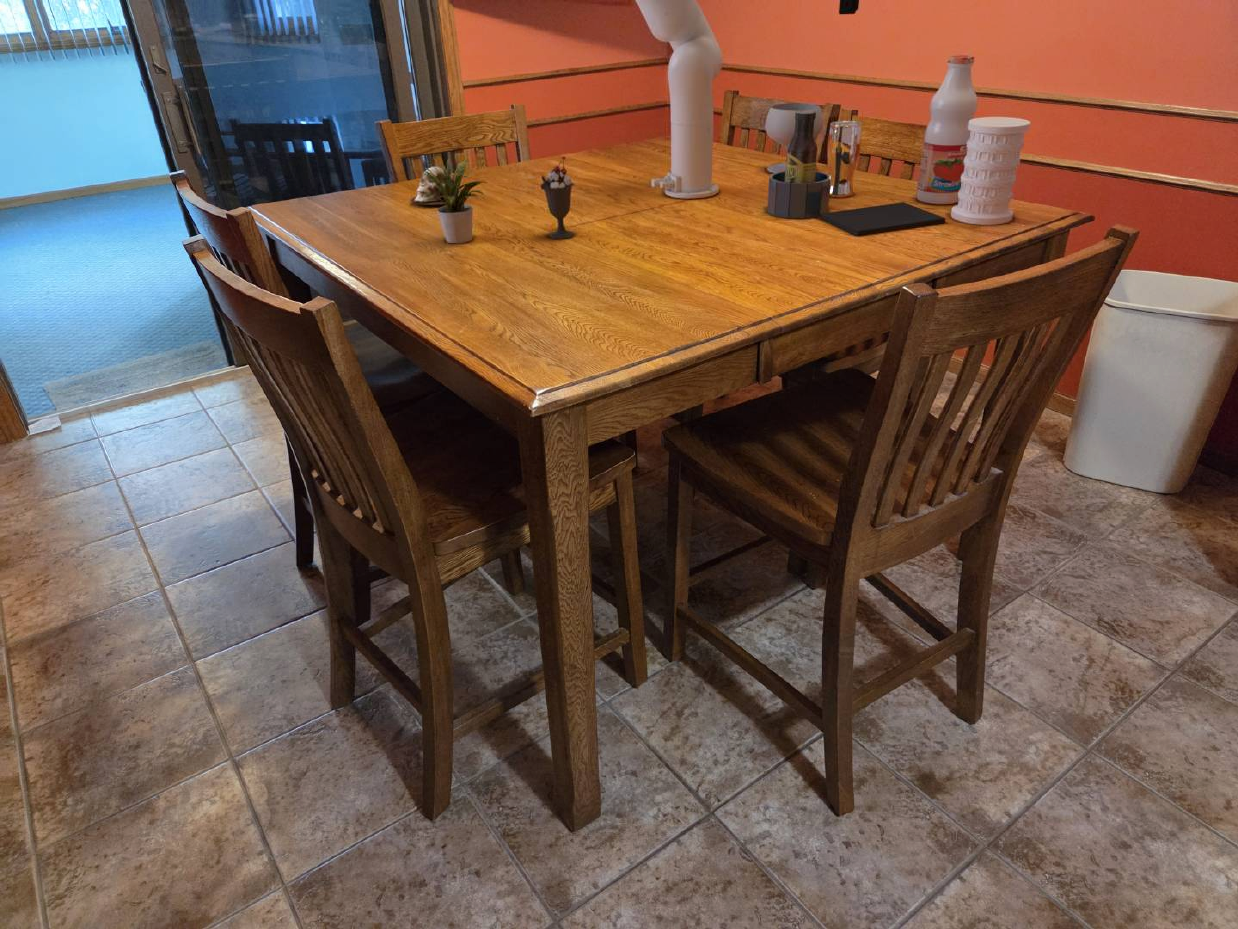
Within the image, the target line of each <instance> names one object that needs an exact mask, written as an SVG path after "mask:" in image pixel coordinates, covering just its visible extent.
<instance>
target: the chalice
mask: <svg viewBox="0 0 1238 929" xmlns="http://www.w3.org/2000/svg"><path fill="white" fill-rule="evenodd" d="M798 110H814V111H816V118H815V120H814V129H813V131H814V133H813V137H814V139H815V140H816V139H817V138H818V137H819V136H820V134H822V132H823V129H824V115H823V111H822V109H821V107H820V105H818V104H815V103H808V102H788V103H787V102H786V103H778V104H774V105H772V106H771V107H770V109H769V111H768V112H767V116H766V119H765V124H764V126H765V127H764V129H765V133H766V134H767V136H768V137H769V138H770V139H771V140H772V141H774V142H776V143H777V144H779V145H780V146H782V147H783V148H784V149H785V151H786V152H787V151H788V148H789V145H790V143H791V140H792V138H793V135H794V131H795V123H796V120H795V114H796V111H798ZM785 168H786V161H785V162H782V163H776V164H775V163H774V164H772V165H769V166H767V168H766V170H767V171H768V172H769V173H772V174H774V173H777V172H781V171H785Z"/></svg>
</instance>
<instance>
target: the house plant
mask: <svg viewBox="0 0 1238 929" xmlns="http://www.w3.org/2000/svg"><path fill="white" fill-rule="evenodd" d="M465 159H466V158H464V159H463V160H462V161H461V162H460V163H458V166H457V167H456V169H455V170H454V172H453V175H452V174H451V165H450V156H448V157H447V161H446V166H445V165H444V164H441V168H442V169H443V171H444V174H443V173H439V172H438V170H437V169H436V168H435V167H436V166H434V165H433V164H429V163H427V166H431V167H434V168H435V169H436V170H437V172H438V173H436V174H438V175H439V176H440V177H441V179H442V181H443V183H444V185H445V186H444V185H443V184H441V183H440V182H439V180H438V179H437V177H436V176H435V175H434V174H433V173H432V172H431V171H430V170H429V167H428V168H427V167H425V166H422V167H423V168H424V169H423V168H422V169H421V170H422V171H421V170H418V169H417V170H416V169H415V171H416V172H419V173H422V174H423V172H425V173H427V174H428V175H429V176H430V177H429V176H428V175H427V174H425V173H424V174H425V175H426V176H428V177H429V178H430V179H431V180H432V181H433V182H434V183H435V185H436V187H437V188H438V189H439V190H440V191H441V193H442V197H443V198H444V200H445V202H446V203H445V202H444V201H443V200H441V199H440V198H439V197H438V196H437V197H438V198H435V197H431V198H428V199H432V198H434V199H439V200H441V201H442V202H443V203H444V204H446V205H442V206H441V207H439V208H437V210H436V213H437V215H438V218H439V221H440V224H441V227H442V230H443V234H444V237H445V240H446V242H447V243H449V244H450V243H451V244H463V243H468V242H471V240H473V217H474V216H473V214H474V213H473V211H474V207H473V206H472V205H470V204H465V203H466V201H467V200H468V199H469V198H470V197H474V198H477V199H479V197H478V194H480V195H482V196H483V197H484V198H485V194H484V192H482V191H481V190H478V189H475V190H472V189H473V188H474V187H476V186H478V185H480V184H484V183H485V181H481V180H477V181H470V182H468V183H464V182H465V181H466V179H467V178H468V177H469V176H470V174H471V173H473V171H474V170H476V169H477V168H478V167H480V166H481V165H477V166H475V167H473V168H472V169H471V170H470V171H467V172H466V165H467V163H468V160H469V159H466V160H465ZM425 169H426V170H428V171H429V172H430V173H431V174H432V175H431V174H430V173H429V172H427V171H426V170H425ZM464 174H467V175H464ZM451 175H452V177H453V182H452V183H451ZM463 178H465V179H464V180H463ZM462 180H463V183H462ZM453 184H454V185H453ZM476 193H477V194H476ZM425 196H436V195H435V194H432V193H425V194H424V195H423V197H425ZM458 196H459V197H458ZM423 197H422V198H423ZM440 197H441V196H440ZM428 199H426V200H428Z"/></svg>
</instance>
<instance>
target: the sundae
mask: <svg viewBox="0 0 1238 929" xmlns="http://www.w3.org/2000/svg"><path fill="white" fill-rule="evenodd" d="M566 159H567V157H566V156H562V158H561V161H560V162H559V163H558V165H555V166H554V167H553V168H552V170H550V171H549V172H548V173H547V175H546V178H545V176H544V175H542V176H541V180H542V182H543V183H541V184H540V189H541V190H542V191H544V194H545V198H546V202H547V207H548V211H549V213H550V214H551V215H552V216H553V217H554V218H555V219H556V220H557V229H556V231H554V232H551V233H550V234H549V238H551V239H553V240H563V239H564V240H566V239H570V238H572V237H574V232H572V231H568V230H567V229H566V227H565V223H564V219H565V218H566V216H568V214H569V213H570V210H571V195H572V188H573V186H574V185H575V183H573V182H572V179H571V178H570V176H569V175H568V174H567V173H568V171H567V169H565V164H564V161H565V160H566ZM561 163H562V168H560V165H561Z"/></svg>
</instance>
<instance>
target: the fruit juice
mask: <svg viewBox="0 0 1238 929" xmlns="http://www.w3.org/2000/svg"><path fill="white" fill-rule="evenodd" d="M974 63H975V56H973V55H968V54H967V55H964V54H963V55H962V54H961V55H960V54H959V55H958V54H957V55H950V56H948V58H947V63H946V64H947V67H948V68H947V71H946V74H945V76H944V77H943V78H944V79H943V81H942V82H941V85H940V86H939V89H938V90H937V91H936V92H935V93H934V94H933V96H932V98H931V100H930V104H929V114H930V118H929V119H930V120H929V122H928V124H927V126H926V129H925V133H924V138H923V146H922V152H921V159H920V166H919V172H918V179H917V186H916V193H915V196H916V197H915V198H916V199H917V201H918V202H921V203H925V204H931V205H951V204H956V203H958V201H959V198H958V192H959V190H960V189H961V184H962V182H961V176H962V173H963V172H964V167H965V165H964V159H965V156H967V150H968V148H967V141H968V139H970V133H971V131H970V130H969V129H968V124H969V120H971V119H974V116H975V114H976V111H977V108H978V104H979V103H978V102H979V101H978V96H977V93H976V91H975V88H974V85H973V77H972V67H973V65H974Z"/></svg>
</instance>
